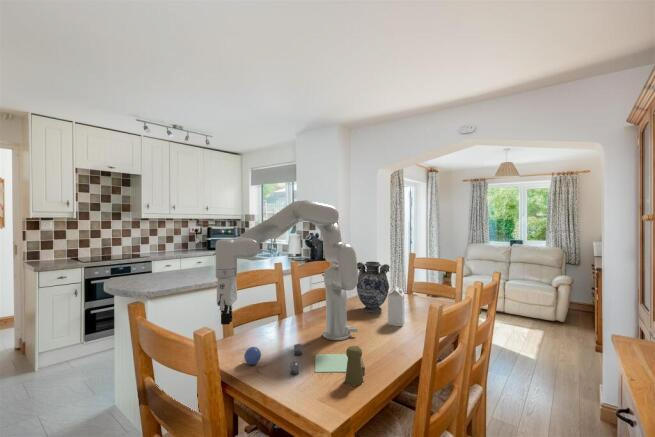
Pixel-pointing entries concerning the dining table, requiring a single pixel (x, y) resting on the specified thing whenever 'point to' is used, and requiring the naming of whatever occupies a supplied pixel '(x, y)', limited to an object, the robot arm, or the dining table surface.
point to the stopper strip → (362, 366)
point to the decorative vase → (372, 285)
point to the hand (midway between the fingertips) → (226, 322)
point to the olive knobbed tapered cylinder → (354, 366)
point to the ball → (252, 355)
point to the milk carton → (396, 307)
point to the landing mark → (331, 363)
